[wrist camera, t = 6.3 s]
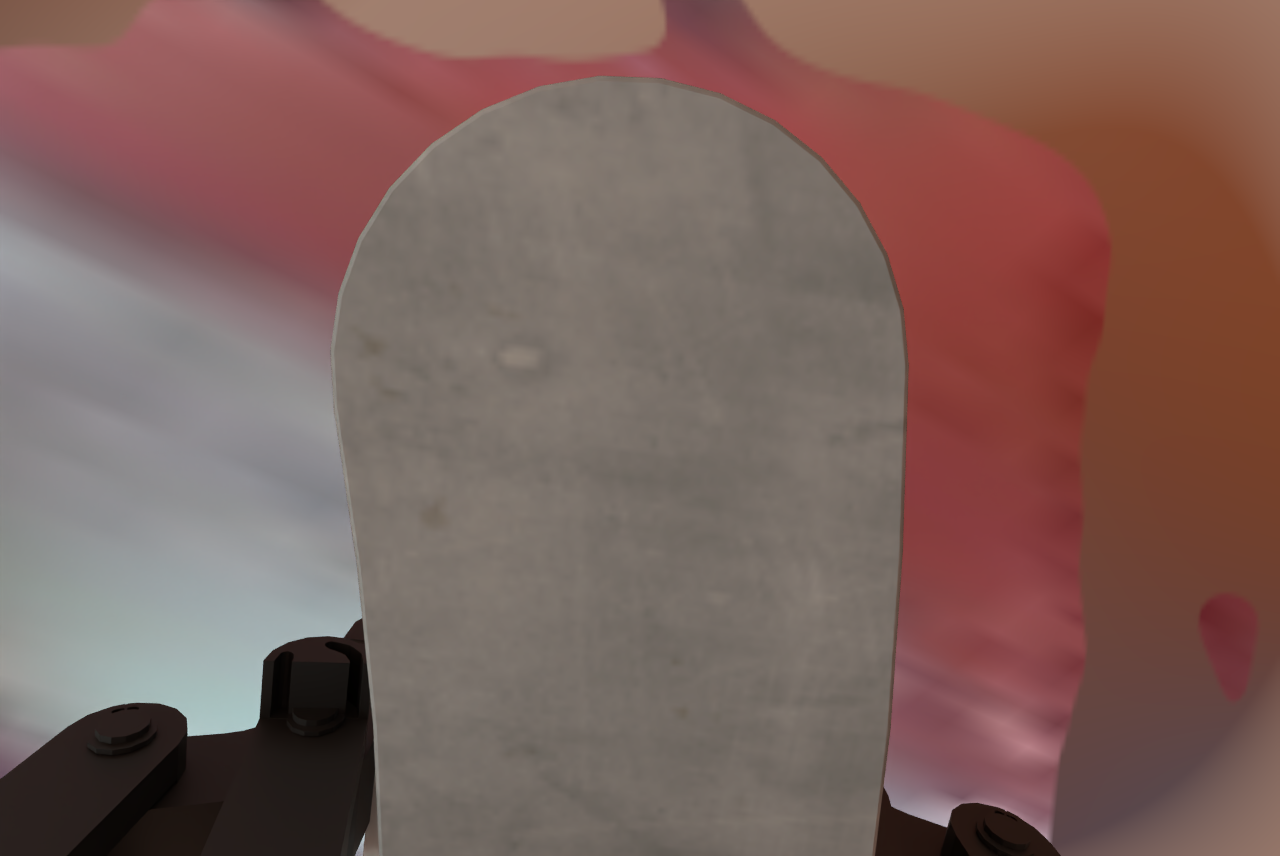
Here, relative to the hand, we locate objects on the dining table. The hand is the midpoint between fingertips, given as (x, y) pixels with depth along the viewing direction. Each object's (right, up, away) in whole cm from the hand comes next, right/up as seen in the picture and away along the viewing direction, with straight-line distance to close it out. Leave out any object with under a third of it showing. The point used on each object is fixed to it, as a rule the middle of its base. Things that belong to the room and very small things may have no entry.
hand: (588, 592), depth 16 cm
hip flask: (0, +1, +6) cm, 7 cm away
